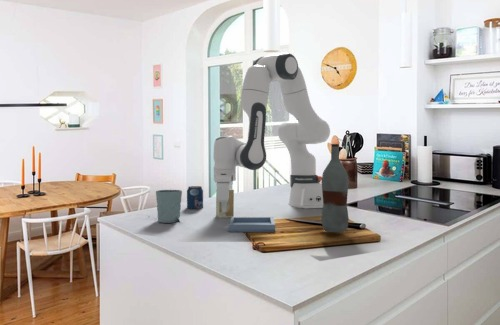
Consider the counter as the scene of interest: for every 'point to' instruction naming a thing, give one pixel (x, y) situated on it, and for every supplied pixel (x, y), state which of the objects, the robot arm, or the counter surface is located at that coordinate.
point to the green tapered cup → (168, 205)
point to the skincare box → (229, 206)
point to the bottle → (335, 194)
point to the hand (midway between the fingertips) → (224, 210)
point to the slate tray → (251, 224)
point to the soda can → (194, 198)
